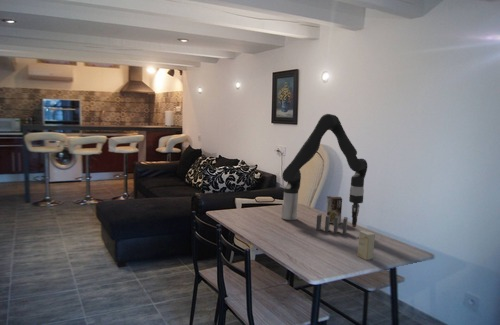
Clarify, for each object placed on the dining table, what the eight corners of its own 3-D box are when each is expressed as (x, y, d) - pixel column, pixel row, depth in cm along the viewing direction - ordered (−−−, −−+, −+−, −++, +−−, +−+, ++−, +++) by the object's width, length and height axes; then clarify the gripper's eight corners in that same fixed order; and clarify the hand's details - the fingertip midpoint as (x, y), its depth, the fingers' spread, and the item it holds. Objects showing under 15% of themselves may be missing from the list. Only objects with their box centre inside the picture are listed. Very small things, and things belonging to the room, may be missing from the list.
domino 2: (324, 231, 223) (325, 216, 222) (326, 229, 228) (327, 214, 227) (327, 232, 223) (328, 217, 222) (329, 230, 227) (330, 215, 226)
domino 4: (342, 234, 220) (343, 218, 219) (343, 232, 224) (344, 217, 224) (345, 234, 219) (346, 219, 218) (346, 232, 224) (347, 217, 223)
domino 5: (352, 226, 218) (353, 211, 217) (353, 224, 222) (354, 209, 221) (355, 227, 217) (356, 211, 216) (356, 225, 222) (357, 209, 221)
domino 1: (316, 230, 225) (317, 215, 224) (317, 228, 230) (318, 213, 229) (319, 231, 224) (320, 215, 223) (320, 228, 229) (321, 214, 228)
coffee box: (339, 221, 249) (341, 196, 248) (340, 223, 243) (342, 198, 241) (325, 220, 250) (326, 195, 249) (326, 222, 244) (327, 197, 242)
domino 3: (333, 233, 222) (334, 217, 221) (334, 230, 226) (335, 215, 225) (336, 233, 221) (337, 218, 220) (337, 231, 226) (338, 216, 225)
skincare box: (356, 255, 184) (358, 231, 183) (364, 254, 186) (366, 230, 185) (366, 260, 179) (368, 234, 177) (373, 259, 181) (375, 233, 179)
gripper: (351, 191, 226) (349, 219, 227) (348, 195, 212) (346, 225, 214) (364, 192, 223) (362, 221, 225) (362, 196, 210) (360, 227, 211)
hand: (354, 223), depth 219 cm, fingers closed on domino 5, 5 cm apart
